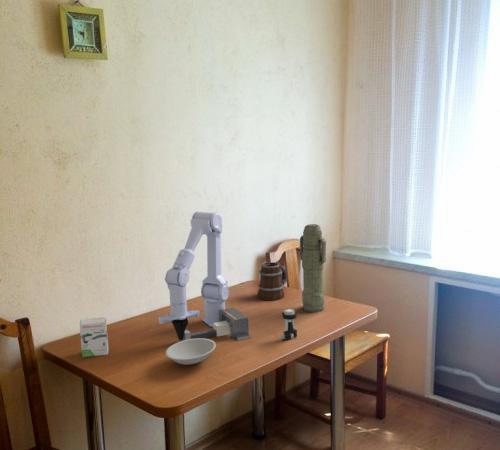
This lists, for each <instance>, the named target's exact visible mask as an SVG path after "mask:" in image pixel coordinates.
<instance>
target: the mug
mask: <svg viewBox="0 0 500 450" xmlns="http://www.w3.org/2000/svg"><path fill="white" fill-rule="evenodd" d="M258 273H259V275H260V277H259V284H257V287H258V291H257V296H258V299H260V300H264V301H272V302H273V301H278V300H281V299H283V298H285V292H284V288H285V286H284V285H285V284H286V283H287V281H288V277H287V269H286V266H284V265H283V266H282V265H280V263H279V262H272V261H270V262H269V261H267V262H263V263H261V266H260V270H259V271H258Z"/></svg>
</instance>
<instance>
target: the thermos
mask: <svg viewBox="0 0 500 450" xmlns="http://www.w3.org/2000/svg"><path fill="white" fill-rule="evenodd" d="M326 251H327V241H326V238H325V237H323V231H322V229H321V225H318V224H315V223H314V224H307V225H305V226H304V228H303V231H302V235H300V238H299V256H300V258H299V259H300V261H301V268H302V273H303V275H302V276H303V280H302V281H303V290H302V292H301V293H302V296H301V298H302V299H301V300H302V310H303V311H305V312H310V313H319V312H322V311H324V310H325V306H324V305H325V292H324V289H323V288H324V285H323V284H324V283H323V282H324V280H323V279H324V278H323V277H324V274H323V273H324V267H325V263H326V261H327V257H326V256H327V254H326Z"/></svg>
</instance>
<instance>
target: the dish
mask: <svg viewBox="0 0 500 450" xmlns="http://www.w3.org/2000/svg"><path fill="white" fill-rule="evenodd" d="M216 347H217V345H216V342H215V341H214V340H212V339H210V338H195V339H188V340H184V341H183V340H179V341H178V342H176V343H174V344H172V345H169V347H168V348H167V349H166V350H165V356H166V357H167V358H168V359H170V360H172V361H174V362H175V363H177V364H180V365H187V366H189V365H194V364H198V363H200V362H203V361H204V360H205V359H207V358H208V357H209V356H210V355H211V353H212V352H213V351H214V350H215V349H216Z"/></svg>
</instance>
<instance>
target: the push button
mask: <svg viewBox="0 0 500 450" xmlns="http://www.w3.org/2000/svg"><path fill="white" fill-rule="evenodd" d="M281 316H282V319H284V331H283V332H282V335H281V336H280V337H281V338H280V339H281V340H286V341H287V340H290V339H291V340H292V339H294V338H297V337H298V330H297V329H296V328H295V319H297V316H298V314H297V311H295V310H294V309H292V308H287V309H284V311H282V312H281Z"/></svg>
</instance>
